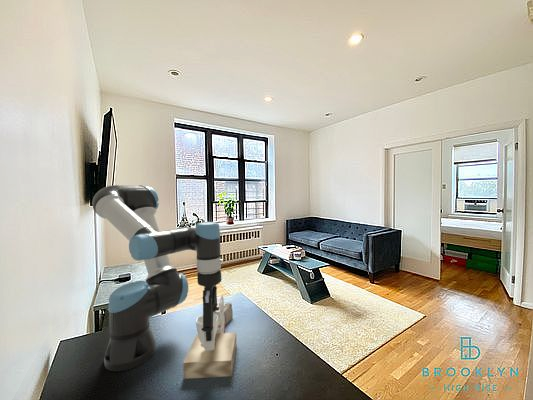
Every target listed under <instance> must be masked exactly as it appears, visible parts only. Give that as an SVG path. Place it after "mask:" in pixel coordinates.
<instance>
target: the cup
mask: <svg viewBox="0 0 533 400" xmlns="http://www.w3.org/2000/svg"><path fill="white" fill-rule="evenodd" d="M218 323H219V321H218V316H217V315H216V314H213V327H214V343H215V335H216V331H217V328H218ZM195 325H196V330H197V335H198V336H199V340H200V342H201V347H203V348H205V337H204V332H203V331H202V330H201V328H203V314H202V315H200V316H197V318H196V320H195Z"/></svg>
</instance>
